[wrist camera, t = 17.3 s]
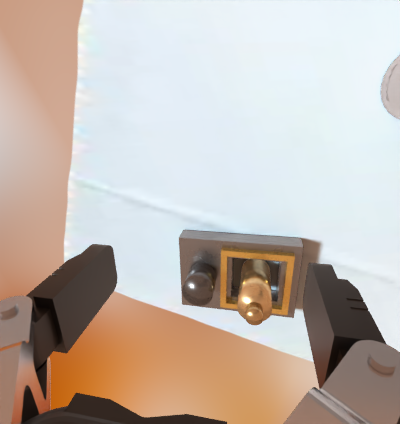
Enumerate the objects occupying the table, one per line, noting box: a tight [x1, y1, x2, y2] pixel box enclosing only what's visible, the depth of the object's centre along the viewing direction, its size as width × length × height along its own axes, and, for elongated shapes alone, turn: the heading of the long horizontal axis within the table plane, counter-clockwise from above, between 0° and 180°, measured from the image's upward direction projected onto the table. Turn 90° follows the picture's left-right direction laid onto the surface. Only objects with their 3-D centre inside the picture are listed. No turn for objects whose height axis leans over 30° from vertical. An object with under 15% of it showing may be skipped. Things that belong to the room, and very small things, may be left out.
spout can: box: [237, 259, 272, 325], centre depth 45 cm, size 5×5×12 cm
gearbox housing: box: [179, 230, 303, 318], centre depth 47 cm, size 20×14×8 cm
